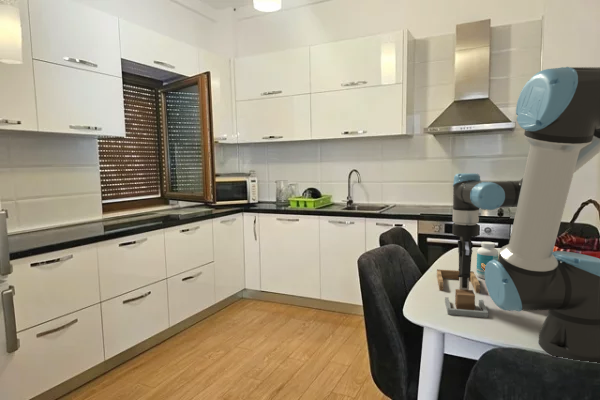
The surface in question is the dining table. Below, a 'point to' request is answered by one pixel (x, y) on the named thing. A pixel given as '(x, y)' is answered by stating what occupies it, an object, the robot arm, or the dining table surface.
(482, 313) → the grey u-shaped bracket
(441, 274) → the brown u-shaped frame
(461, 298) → the cube
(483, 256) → the pill bottle
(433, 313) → the dining table surface
